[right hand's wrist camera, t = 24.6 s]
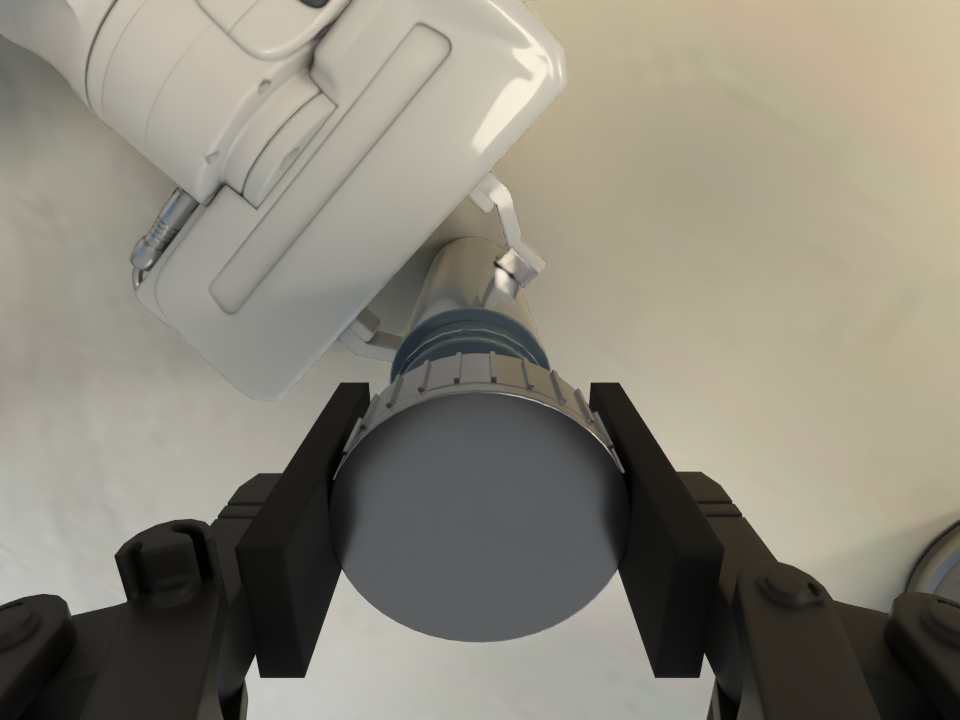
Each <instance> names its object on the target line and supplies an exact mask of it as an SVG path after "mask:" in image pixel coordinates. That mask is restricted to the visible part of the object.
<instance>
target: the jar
mask: <svg viewBox="0 0 960 720" xmlns="http://www.w3.org/2000/svg"><path fill="white" fill-rule="evenodd" d="M501 249H502V248H501V247H500V246H498V245H497V244H496V243H494V242H492V241H490V240H487V239H484V238H480V237H464V238H460V239H457V240H455V241H452V242H450V243H449V244H447V245H446V246H445V247H444V248H442V249H441V250H440V252H439V253H438V254H437V255H436V257H435V258H434V260H433V262H432V265H431V267H430V270H429V272H428V275H427V277H426V280H425V282H424V285H423V287H422V290H421V292H420V295H419V297H418V300H417V302H416V305H415V307H414V310H413V312H412V314H411V317H410V319H409V322H408V324H407V327H406V329H405V332H404V334H403V337H402V339H401V342H400V344H399V347H398V349H397V352H396V354H395V357H394V360H393V363H392V368H391V373H390V385H391V384H392V383H393V382H394V381H395V378H396V376H397V375H399V374H401V376H403V375H404V374H406V373H408V372H409V371H411V370H413V369H415V368H417V367H419V366H421V365H424V361H426V360H429V361H430V362H432V361H435V360H438V359H441V358H446V357H450V356H455V355H456V353H457V352H462V355H463V354H474V353H480V354H490V351H495V354H497V355H504V356H510V357H514V358H518V359H521V360H522V358H523V357H525V358H528V362H531V363H533V364H535V365H538V366H540V367H542V368H545V369H547V370H548V371H550V366H549V362H548V359H547V356H546V353H545V350H544V348H543V345H542V342H541V339H540V337H539V334H538V331H537V329H536V326H535V323H534V321H533V318H532V315H531V312H530V310H529V307H528V304H527V302H526V299H525V296H524V293H523V291H522V288H521V286H520V285H519V284H518V283H517V282H516V281H515V279H514V278H513V274H510V273H507V272H506V271H504V270H503V269H502V268H501V267H500V266H499V265H498V264H497V262H496V258H495V256H496V254H497V253H498V252H499V251H500V250H501ZM550 372H551V371H550Z"/></svg>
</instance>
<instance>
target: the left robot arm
mask: <svg viewBox="0 0 960 720" xmlns="http://www.w3.org/2000/svg"><path fill="white" fill-rule="evenodd" d="M0 34H1V35H2V36H3V37H5V38H7V39H8V40H10V41H12V42H14V43H16V44H17V45H19V46H21V47H23V48H25V49H27V50H29V51H31V52H33V53H35V54H37V55H39V56H40V57H42V58H43V59H44V60H46V61H47V62H49V63H50V64H51V65H52V66H54V67H55V68H56V69H57V70H58V71H59V73H60V74H61V75H62V76H63V77H64V78H65V79H66V80H67V82H68V83H69V85H70V86H71V87H72V89H73V90H74V92H75V93H76V95H77V96H78V97H79V98H80V100H81V101H82V102H83V103H84V104H85V106H86V107H87V108H88V109H89V110H90V111H91V112H92V113H93V114H94V115H95V116H96V117H98V118H99V119H100V120H101V121H103V122H104V123H105V124H106V125H107V126H109V127H110V128H111V129H112V130H113V131H114V132H116V133H117V134H118V135H119V136H120V137H121V138H123V139H124V140H125V141H126V142H127V143H129V144H130V145H131V146H132V147H133V148H135V149H136V150H137V151H138V152H139V153H140V154H142V155H143V156H144V157H145V158H146V159H148V160H149V161H150V162H151V163H152V164H154V165H155V166H156V167H157V168H158V169H159V170H161V171H162V172H163V173H164V174H165V175H167V176H168V177H169V178H170V179H171V180H172V181H174V182H175V183H176V184H177V185H178V187H177V188H176V190H175V191H174V192H173V194H172V196H171V197H170V198H169V200H168V201H167V203H166V204H165V205H164V207H163V208H162V210H161V212H160V213H159V215H158V217H157V219H156V221H155V223H154V225H153V226H152V228H151V230H150V231H149V232H148V233H147V235H144V236H143V237H142V238H141V239H140V240H139V241H138V243H137V244H136V245H135V247H134V249H133V251H132V253H131V256H130V262H131V263H132V264H133V265H134V268H133V272H132V281H133V286H134V289H135V296H136V298H137V300H138V301H139V302H140V303H141V305H142V306H143V307H144V308H145V309H147V310H148V311H149V312H151V313H152V314H153V315H155V316H156V317H157V318H159V319H160V320H161V321H163V322H164V323H165V324H166V325H168V326H169V327H171V328H173V329H175V330H176V331H177V333H178V334H179V335H180V336H181V337H182V338H183V339H184V340H185V341H186V342H187V343H188V344H189V345H190V346H191V347H192V348H193V349H194V350H195V351H196V352H197V353H198V354H199V355H200V356H201V357H202V358H203V359H204V360H205V361H206V362H207V363H208V364H209V365H211V366H212V367H213V368H214V369H215V370H216V371H217V372H218V373H219V374H220V375H222V376H223V377H224V378H225V379H226V380H227V381H228V382H229V383H231V384H232V385H233V386H234V387H235V388H237V389H238V390H239V391H240V392H242V393H243V394H244V395H246V396H247V397H249V398H251V399H253V400H262V401H274V402H276V401H280V400H281V399H282V398H283V397H284V396H285V395H286V394H287V393H288V392H289V391H290V390H291V388H292V387H293V386H294V385H295V384H296V383H297V382H298V381H299V380H300V379H301V377H302V376H303V375H304V374H305V373H306V372H307V371H308V370H309V369H310V368H311V366H312V365H313V364H314V363H315V362H316V361H317V360H318V359H319V358H320V357H321V356H322V354H323V353H324V352H325V351H326V350H327V349H328V348H329V347H330V346H331V345H332V343H333V342H334V341H335V340H336V339H337V340H339V341H340V342H341V343H342V344H343V345H345V346H346V347H347V348H348V349H349V350H351V351H352V352H353V353H354V354H355V355H358V356H363V357H368V358H373V359H378V360H383V361H388V362H393V360H394V357H395V354H396V352H397V349H398V347H399V344H400V342H401V339H402V337H399V336H395V335H391V334H388V333H384V332H380V331H377V329H378V327H379V326H380V324H381V320H380V319H379V318H378V317H377V316H375V315H374V314H373V313H372V312H371V311H370V310H369V309H368V308H366V306H367V305H368V304H369V303H370V302H371V301H372V300H373V298H374V297H375V296H376V295H377V294H378V293H379V292H380V291H381V290H382V289H383V287H384V286H385V285H386V284H387V283H388V282H389V281H390V280H391V279H392V278H393V276H394V275H395V274H396V273H397V272H398V271H399V270H400V269H401V268H402V267H403V265H404V264H405V263H406V262H407V261H408V260H409V259H410V258H411V257H412V256H413V254H414V253H415V252H416V251H417V250H418V249H419V248H420V247H421V246H422V245H423V244H424V242H425V241H426V240H427V239H428V238H429V237H430V236H431V235H432V234H433V233H434V231H435V230H436V229H437V228H438V227H439V226H440V225H441V224H442V223H443V222H444V220H445V219H446V218H447V217H448V216H449V215H450V214H451V213H452V212H453V211H454V209H455V208H456V207H457V206H458V205H459V204H460V203H461V202H462V201H463V200H464V198H465V197H466V196H467V197H468V198H469V199H470V200H471V201H472V202H474V203H475V204H476V205H477V206H478V207H479V208H480V209H481V210H482V211H483V212H484V213H489V212H490V211H491V210H492V209H493V208H494V203H495V204H496V207H497V211H498V215H499V218H500V222H501V226H502V229H503V233H504V237H505V240H506V245H505V246H504V247H503V248H502V249H501V250H500V251H499V252H498V253H497V254H496V256H495V258H496V262H497V264H498V265H499V266H500V267H501V268H502V269H503V270H504V271H506V272H507V273H510V274H513V278H514V279H515V281H516V282H517V283H518V284H519V285H520V286H521V287H523V288H524V287H525V286H526V285H527V284H528V283H529V282H530V281H531V280H532V279H533V278H534V277H536V276H537V275H538V274H539V273H540V272H541V271H542V270H543V269H544V268H545V267H546V266H547V265H546V264H545V262H544V261H543V260H542V259H541V258H540V256H539V255H538V254H537V253H536V252H535V251H534V250H533V249H532V248H531V247H530V246H529V245H528V244H527V243H526V242H525V241H524V240H523V239H522V238H521V233H520V229H519V225H518V221H517V217H516V213H515V209H514V205H513V201H512V197H511V194H510V191H509V190H508V189H507V188H506V187H505V186H504V185H503V184H502V183H501V182H500V181H499V180H498V178H497V177H496V176H495V175H494V174H493V173H492V172H491V171H490V170H491V169H492V168H493V167H494V166H495V164H496V163H497V162H498V161H499V160H500V159H501V158H502V157H503V156H504V155H505V153H506V152H507V151H508V150H509V149H510V148H511V147H512V146H513V145H514V144H515V143H516V141H517V140H518V139H519V138H520V137H521V136H522V135H523V134H524V133H525V132H526V130H527V129H528V128H529V127H530V126H531V125H532V124H533V123H534V122H535V121H536V119H537V118H538V117H539V116H540V115H541V114H542V113H543V112H544V111H545V110H546V108H547V107H548V106H549V105H550V104H551V103H552V102H553V101H554V100H555V99H556V97H557V96H558V95H559V94H560V93H561V92H562V91H563V90H564V89H565V87H566V85H567V82H568V71H567V57H566V52H565V49H564V48H563V46H562V44H561V43H560V41H559V40H558V39H557V38H556V37H555V35H554V34H553V33H552V32H551V31H550V29H549V28H548V27H547V26H546V25H545V24H544V23H543V22H542V21H541V20H540V19H539V18H538V17H537V16H536V15H535V13H534V12H533V11H532V10H531V9H530V8H529V7H528V6H527V5H526V4H525V3H524V2H523V1H522V0H0ZM144 271H150V272H149V273H148V274H147V276H146V277H145V278H144V280H143V272H144Z"/></svg>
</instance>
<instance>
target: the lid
mask: <svg viewBox="0 0 960 720" xmlns="http://www.w3.org/2000/svg"><path fill="white" fill-rule="evenodd" d="M614 448H615V447H614V445H613V443H612V441H611V438H610V436H609V434H608V432H607V430H606V428H605V426H604V424H603V422H602V420H601V418H600V416H599V414H598V412H595V413H594V412H593V411H592V410H591V408H590V407H589V405H588V404H587V402H586V401H585V399H584V396H583V394H582V392H581V391H580V390H579V389H577V390H575V389H574V388H573V387H571V386H570V385H569V384H568V383H566V382H565V381H564V380H563V379H561V378H560V377H559V376H558V374H557V372H556V371H554V370H553V371H552V372H550V371H548V370H547V369H545V368H542V367H540V366H538V365H535V364H533V363H531V362H528V358H525V357H523V358H522V360H521V359H518V358H514V357H510V356H504V355H497V354H495V351H490V354H480V353H474V354H463V355H462V352H457V353H456V355H455V356H450V357H446V358H441V359H438V360H435V361H432V362H430V361H429V360H426V361H424V365H421V366H419V367H417V368H415V369H413V370H411V371H409V372H408V373H406V374H404V375H403V376H401V374H399V375H397V376H396V378H395V381H394V382H393V383H392V384H391V385H389V386H388V387H387V388H386V389H385V390H384V391H383V392H382V393H381V394H380V395H377V394H375V395H374V396H373V399H372V401H371V403H370V405H369V407H368V409H367V412H366V414H365V415H364V417H363V419H362V418H358V420H357V422H356V424H355V427H354V429H353V431H352V433H351V435H350V437H349V439H348V441H347V443H346V445H345V447H344V449H343V452H342V455H344V456H343V458H342V460H341V462H340V464H339V467H338V469H337V471H336V473H335V475H334V477H333V486H332V490H331V494H330V498H329V521H330V530H331V538H332V545H333V549H334V552H335V554H336V557H337V559H338V562H339V564H340V566H341V568H342V569H343V571H344V573H345V574H346V576H347V578H348V579H349V581H350V582H351V583H352V584H353V586H354V587H355V588H356V590H357V591H358V592H359V593H360V594H361V595H362V596H363V597H364V598H365V599H366V600H367V601H368V602H369V603H370V604H372V605H373V606H374V607H375V608H377V609H378V610H379V611H381V612H382V613H383V614H385V615H386V616H388V617H390V618H391V619H393V620H395V621H396V622H398V623H400V624H402V625H404V626H407V627H409V628H411V629H413V630H416V631H419V632H421V633H424V634H427V635H430V636H434V637H439V638H443V639H447V640H455V641H463V642H496V641H505V640H511V639H517V638H521V637H525V636H528V635H532V634H536V633H538V632H541V631H543V630H546V629H549V628H551V627H553V626H555V625H557V624H559V623H561V622H563V621H565V620H567V619H569V618H570V617H571V616H573V615H574V614H576V613H577V612H579V611H580V610H582V609H583V608H584V607H585V606H587V605H588V604H589V603H590V602H591V601H592V600H594V599H595V598H596V597H597V596H598V594H599V593H600V592H601V591H602V590H603V589H604V588H605V587H606V585H607V584H608V583H609V581H610V580H611V578H612V577H613V575H614V574H615V572H616V571H617V569H618V567H619V565H620V563H621V561H622V559H623V556H624V553H625V550H626V547H627V543H628V535H629V527H630V517H631V503H630V497H629V491H628V488H627V485H626V481H625V478H624V477H625V476H626V473H625V470H624V468H623V466H622V464H621V462H620V460H619V458H618V456H617V454H616V452H615V449H614Z"/></svg>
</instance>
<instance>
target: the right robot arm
mask: <svg viewBox="0 0 960 720" xmlns="http://www.w3.org/2000/svg"><path fill="white" fill-rule="evenodd" d="M369 405H370V392H369V383H340V385H339V386H338V388H337V389H336V391H335V392H334V394H333V395H332V397H331V399H330V400H329V402H328V403H327V405H326V406H325V408H324V410H323V411H322V413H321V414H320V416H319V417H318V419H317V420H316V422H315V424H314V425H313V427H312V428H311V430H310V431H309V433H308V435H307V436H306V438H305V439H304V441H303V442H302V444H301V445H300V447H299V449H298V450H297V452H296V453H295V455H294V456H293V458H292V460H291V461H290V463H289V464H288V466H287V467H286V469H285V470H284V472H283V473H259V474H257V475H256V476H255V477H253V478H252V479H250V480H249V481H247V482H246V483H244V484H243V485H242V486H240V487H239V488H238V490H237V491H236V492H235V494H234V495H233V496H232V498H231V499H230V500H229V502H228V505H227V506H225V507H224V508H223V510H222V511H221V512H220V514H219V515H218V519H215V520H214V522H213V523H212V524H211V526H209V525H208V524H207V523H206V522H203V521H199V520H194V519H184V520H173V521H170V522H166V523H162V524H158V525H155V526H153V527H151V528H149V529H147V530H145V531H142V532H140V533H138V534H137V535H135V536H134V537H133V538H131V539H130V540H129V541H127V542H126V543H124V544H123V546H122V547H121V548H120V549H119V551H118V552H117V553H116V555H115V556H114V557H115V560H116V563H117V567H118V570H119V573H120V577H121V580H122V583H123V587H124V590H125V593H126V597H127V602H126V603H123V604H119V605H116V606H112V607H108V608H103V609H99V610H95V611H90V612H86V613H82V614H78V615H73V616H71V613H70V611H69V608H68V605H67V602H66V601H64V600H63V599H62V598H61V597H59V596H58V595H49V594H40V595H34V596H28V597H23V598H20V599H17V600H14V601H12V602H9V603H6V604H4V605H1V606H0V720H246V716H247V707H248V694H247V687H246V683H245V676H246V674H247V672H248V670H249V667H250V665H251V663H252V661H253V659H254V657H255V654H256V658H257V664H258V669H259V674H260V678H305V675H306V672H307V669H308V666H309V663H310V660H311V657H312V655H313V652H314V649H315V646H316V643H317V640H318V637H319V634H320V631H321V628H322V625H323V622H324V619H325V617H326V614H327V611H328V608H329V605H330V602H331V599H332V596H333V593H334V590H335V587H336V584H337V581H338V579H339V576H340V573H341V570H342V568H341V566H340V564H339V562H338V559H337V557H336V554H335V552H334V549H333V545H332V538H331V530H330V521H329V498H330V494H331V490H332V486H333V477H334V475H335V473H336V471H337V469H338V467H339V464H340V462H341V460H342V458H343V456H344V455H342V452H343V449H344V447H345V445H346V443H347V441H348V439H349V437H350V435H351V433H352V431H353V429H354V427H355V424H356V422H357V420H358V418H362V419H363V417H364V415H365V414H366V412H367V409H368V407H369ZM589 407H590V408H591V410H592V411H593V412H594V413H595V412H598V414H599V416H600V418H601V420H602V422H603V424H604V426H605V428H606V430H607V432H608V434H609V436H610V438H611V441H612V443H613V445H614V447H615V448H614V449H615V452H616V454H617V456H618V458H619V460H620V462H621V464H622V466H623V468H624V470H625V473H626V476H625V477H624V478H625V481H626V485H627V488H628V491H629V497H630V503H631V517H630V527H629V535H628V543H627V547H626V550H625V553H624V556H623V559H622V561H621V563H620V565H619V567H618V571H619V574H620V577H621V579H622V582H623V585H624V588H625V591H626V594H627V597H628V600H629V603H630V606H631V609H632V612H633V615H634V617H635V620H636V623H637V626H638V629H639V632H640V635H641V638H642V641H643V644H644V647H645V650H646V653H647V656H648V658H649V661H650V664H651V667H652V670H653V673H654V676H655V678H699V677H700V672H701V667H702V662H703V657H704V652H705V655H706V657H707V659H708V661H709V663H710V665H711V668H712V670H713V672H714V674H715V676H716V678H715V683H714V687H713V692H712V697H711V701H710V706H709V711H708V715H707V720H960V525H958V526H957V527H955V528H954V529H953V530H951V531H950V532H949V533H947V534H946V535H945V536H944V537H943V538H942V539H940V540H939V541H938V542H937V543H936V544H935V545H934V546H933V547H932V548H931V549H930V550H929V552H928V553H927V554H926V555H925V556H924V558H923V559H922V560H921V562H920V563H919V565H918V566H917V568H916V570H915V571H914V573H913V575H912V578H911V580H910V582H909V585H908V588H907V593H902V594H901V595H899V596H898V597H897V598H895V599H894V601H893V603H892V606H891V609H890V612H889V614H888V613H884V612H879V611H875V610H871V609H866V608H862V607H858V606H853V605H849V604H845V603H841V602H838V601H835V600H833V599H832V598H831V596H830V595H829V593H828V592H827V590H826V589H825V587H824V586H823V585H821V584H820V583H819V582H818V581H817V580H815V579H814V578H813V577H812V576H811V575H809V574H807V573H805V572H803V571H801V570H799V569H797V568H796V567H794V566H791V565H787V564H784V563H781V562H778V561H777V560H776V558H775V557H774V556H773V554H772V553H771V552H770V550H769V549H768V548H767V546H766V545H765V544H764V542H763V541H762V540H761V538H760V537H759V536H758V535H757V533H756V532H755V531H754V529H753V528H752V527H751V525H750V524H749V523H748V521H747V520H746V519H745V517H742V513H741V512H740V511H739V509H738V508H737V507H736V505H735V504H732V500H731V499H730V497H729V496H728V495H727V493H726V492H725V491H724V489H723V488H722V487H721V485H719V484H718V483H716V482H715V481H714V480H712V479H711V478H709V477H708V476H706V475H705V474H703V473H702V472H676V471H675V469H674V468H673V466H672V465H671V463H670V462H669V460H668V458H667V457H666V455H665V454H664V452H663V451H662V449H661V448H660V446H659V444H658V443H657V441H656V440H655V438H654V437H653V435H652V434H651V432H650V430H649V429H648V427H647V426H646V424H645V423H644V421H643V419H642V418H641V416H640V415H639V413H638V412H637V410H636V409H635V407H634V405H633V404H632V402H631V401H630V399H629V398H628V396H627V394H626V393H625V391H624V390H623V388H622V387H621V385H620V384H619V383H591V388H590V401H589Z"/></svg>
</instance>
